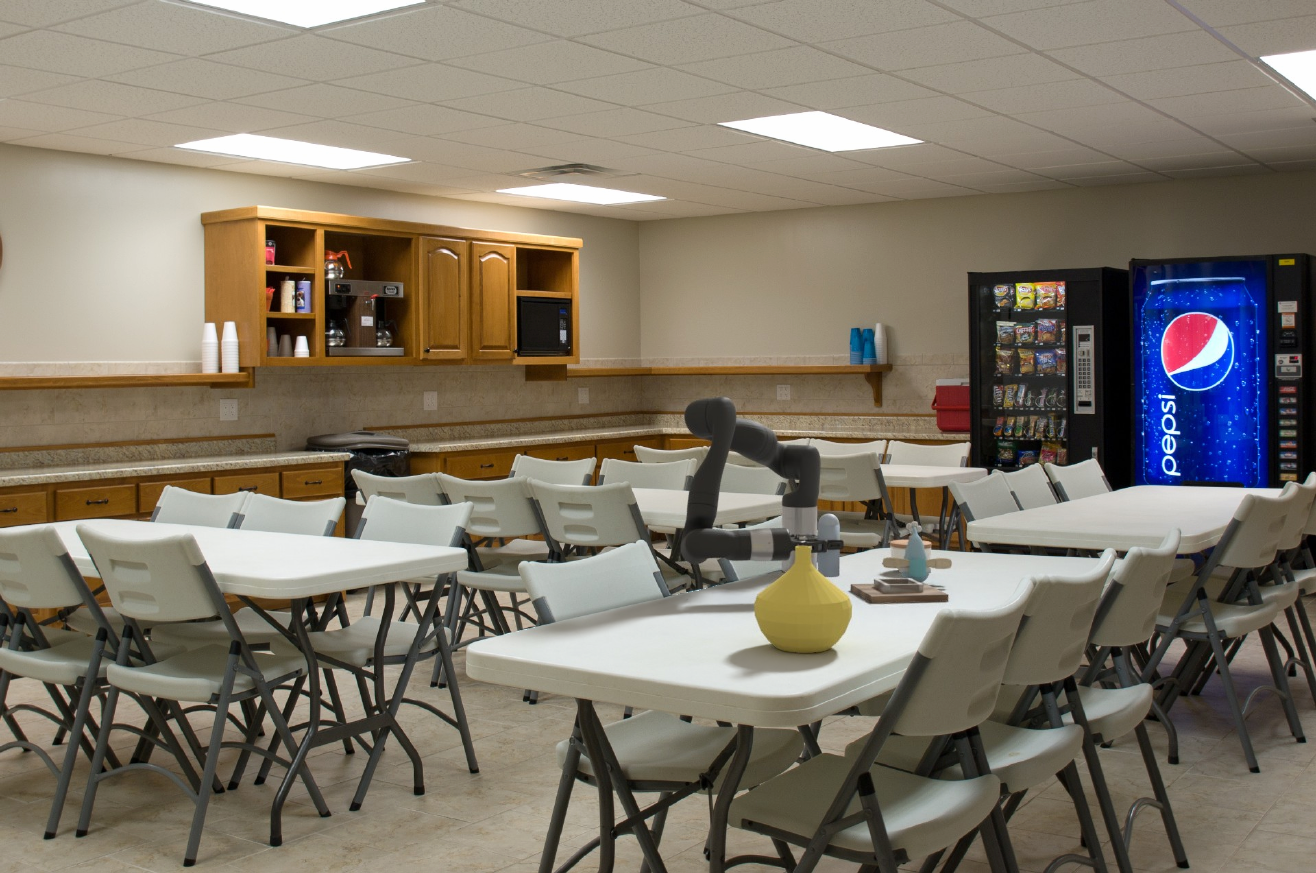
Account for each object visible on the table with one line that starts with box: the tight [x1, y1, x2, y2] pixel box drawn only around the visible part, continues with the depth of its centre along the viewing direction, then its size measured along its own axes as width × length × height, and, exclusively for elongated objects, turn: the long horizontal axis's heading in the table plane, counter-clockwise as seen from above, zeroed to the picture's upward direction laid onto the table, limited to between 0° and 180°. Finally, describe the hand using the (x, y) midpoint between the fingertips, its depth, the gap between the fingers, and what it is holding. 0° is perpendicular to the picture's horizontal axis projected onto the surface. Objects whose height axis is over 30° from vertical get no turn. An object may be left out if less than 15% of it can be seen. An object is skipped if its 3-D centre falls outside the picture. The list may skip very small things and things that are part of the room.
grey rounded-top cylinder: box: [817, 513, 841, 578], centre depth 289 cm, size 5×5×14 cm
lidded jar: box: [889, 535, 932, 573], centre depth 328 cm, size 11×11×9 cm
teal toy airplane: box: [881, 521, 953, 583], centre depth 309 cm, size 17×10×15 cm, turn 84°
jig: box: [850, 577, 949, 604], centre depth 291 cm, size 17×18×3 cm
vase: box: [753, 546, 853, 654], centre depth 235 cm, size 18×18×19 cm
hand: (839, 542), depth 289 cm, fingers closed on grey rounded-top cylinder, 5 cm apart
